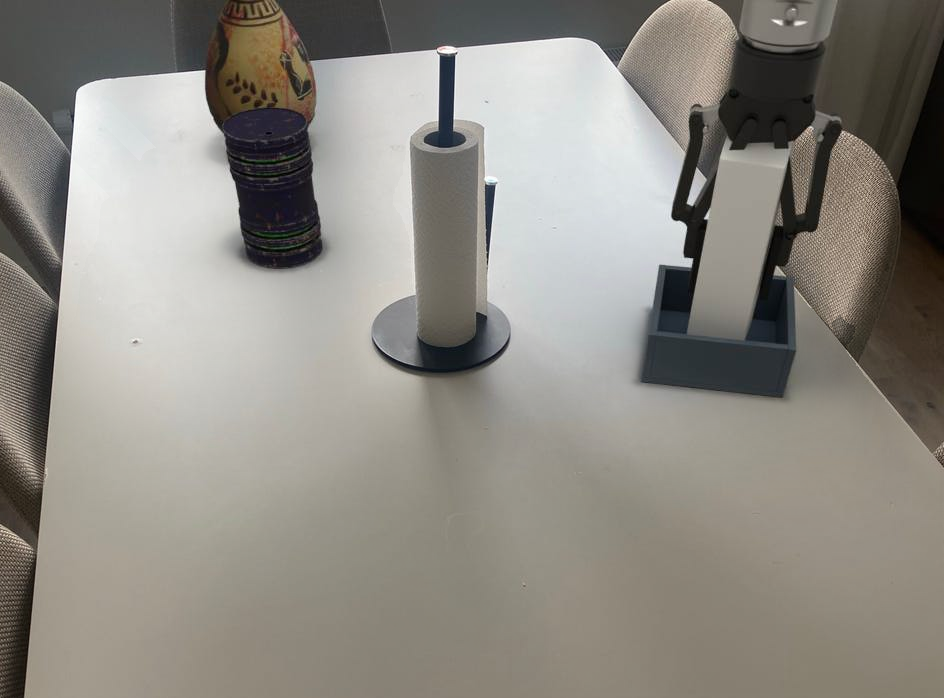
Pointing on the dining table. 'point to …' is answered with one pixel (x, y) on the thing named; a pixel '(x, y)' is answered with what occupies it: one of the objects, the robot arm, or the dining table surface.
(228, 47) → the ceramic jug
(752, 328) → the tote
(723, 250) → the tall white rectangular prism
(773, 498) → the dining table surface
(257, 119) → the dark blue cylinder
